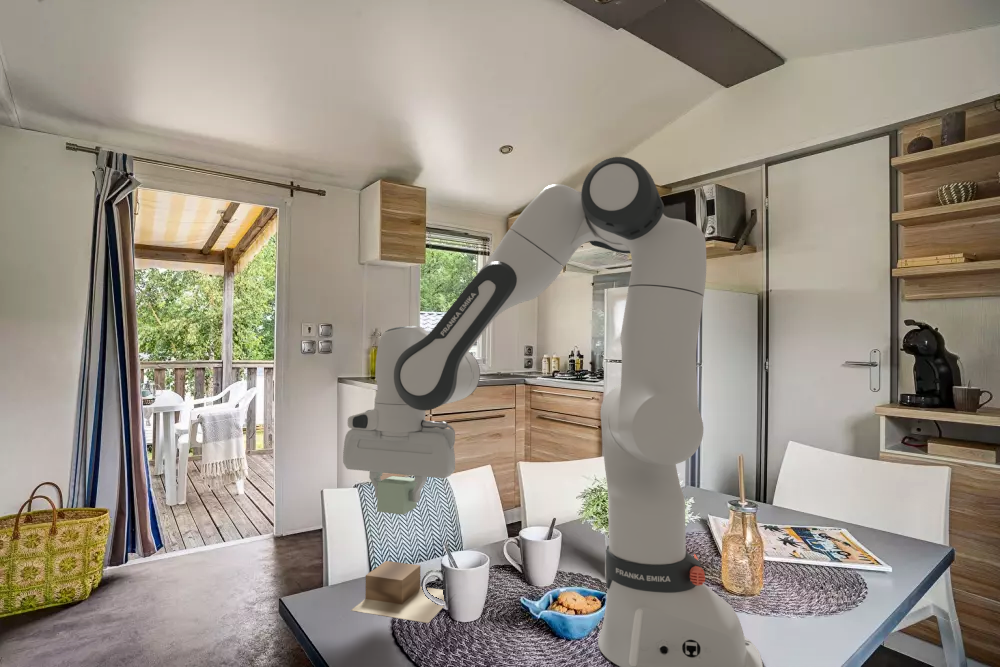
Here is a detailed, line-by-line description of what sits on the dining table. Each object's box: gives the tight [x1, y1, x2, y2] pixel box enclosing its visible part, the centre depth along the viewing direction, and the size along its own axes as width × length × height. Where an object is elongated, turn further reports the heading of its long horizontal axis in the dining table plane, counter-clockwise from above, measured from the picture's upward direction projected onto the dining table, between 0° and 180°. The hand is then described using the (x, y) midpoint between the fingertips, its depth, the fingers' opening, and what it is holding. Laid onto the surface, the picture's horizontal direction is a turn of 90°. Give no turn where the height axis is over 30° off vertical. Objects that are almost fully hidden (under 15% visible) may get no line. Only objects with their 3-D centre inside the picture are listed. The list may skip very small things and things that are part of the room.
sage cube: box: [376, 475, 418, 516], centre depth 96 cm, size 5×5×5 cm
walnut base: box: [364, 560, 421, 604], centre depth 98 cm, size 7×7×4 cm
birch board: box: [350, 586, 445, 624], centre depth 94 cm, size 14×12×1 cm
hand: (397, 499), depth 96 cm, fingers closed on sage cube, 5 cm apart
